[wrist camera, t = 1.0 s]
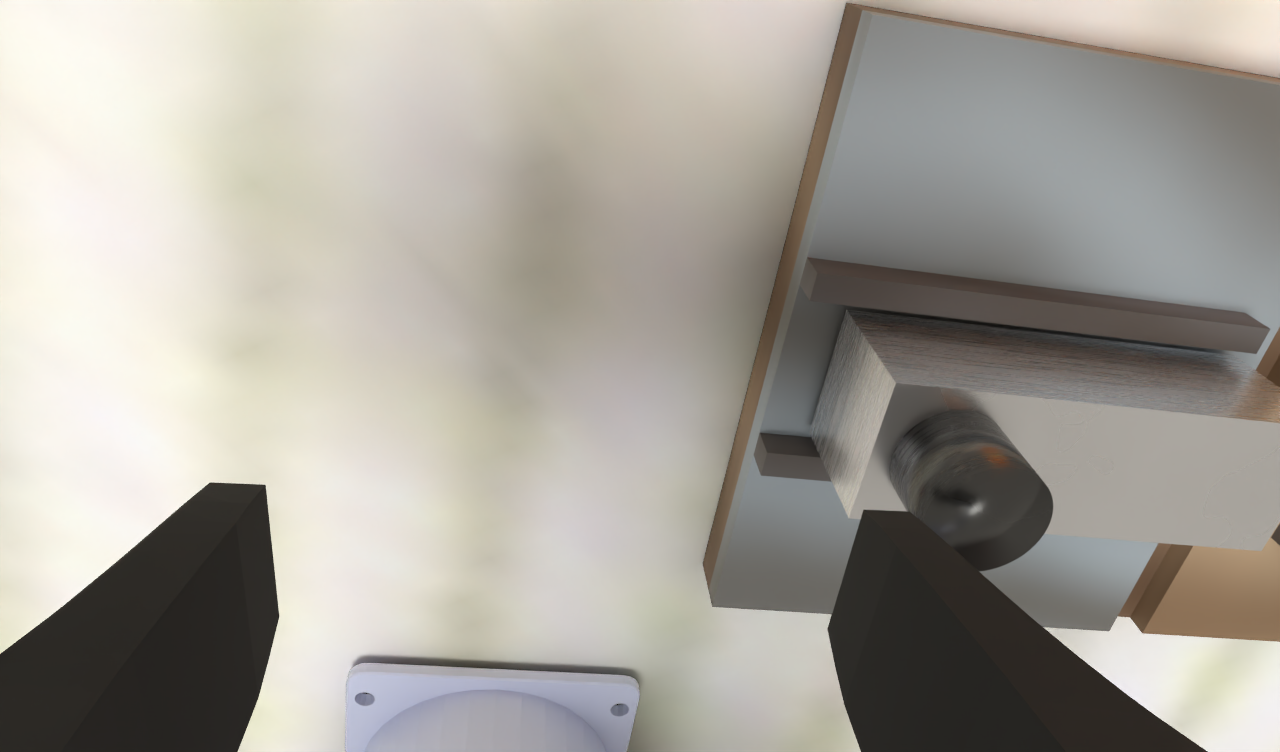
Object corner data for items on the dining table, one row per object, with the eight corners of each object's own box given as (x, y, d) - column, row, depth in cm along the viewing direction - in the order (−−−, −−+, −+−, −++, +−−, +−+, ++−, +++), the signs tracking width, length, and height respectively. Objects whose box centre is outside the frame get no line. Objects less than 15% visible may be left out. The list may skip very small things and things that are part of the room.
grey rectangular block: (1173, 466, 21) (1326, 613, 17) (808, 432, 20) (878, 583, 16) (1234, 355, 20) (1417, 485, 16) (846, 309, 18) (934, 439, 14)
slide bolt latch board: (1407, 612, 27) (1617, 794, 22) (702, 563, 24) (748, 766, 18) (1751, 161, 21) (2174, 263, 15) (846, 2, 17) (982, 63, 12)
